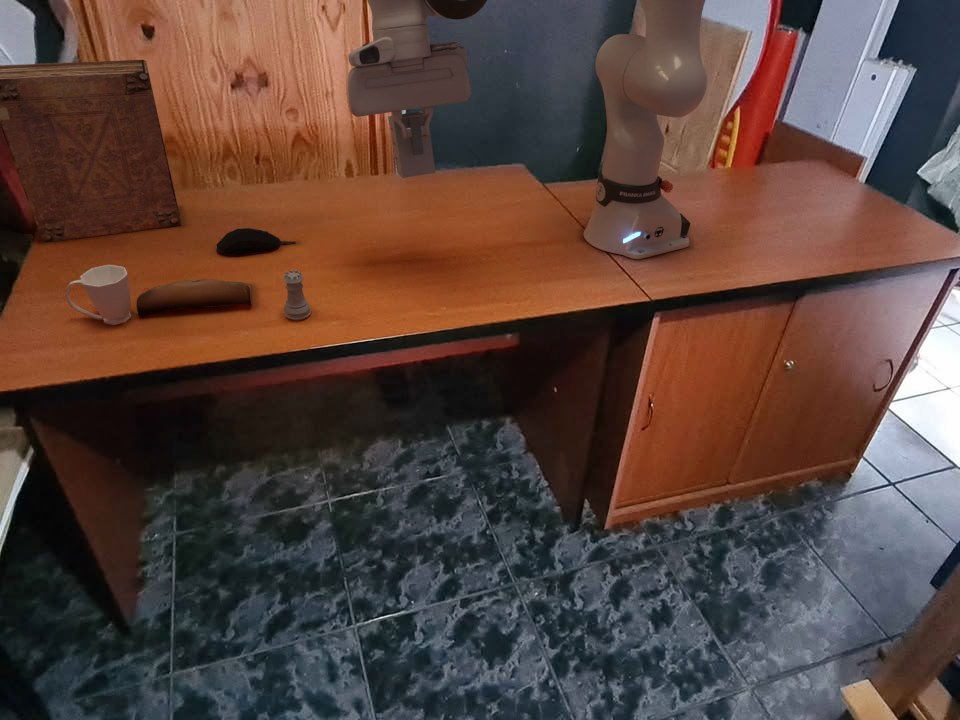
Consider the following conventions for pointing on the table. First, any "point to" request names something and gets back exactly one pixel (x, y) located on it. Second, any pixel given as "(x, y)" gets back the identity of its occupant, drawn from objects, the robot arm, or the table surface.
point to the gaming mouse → (248, 242)
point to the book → (88, 147)
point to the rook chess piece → (295, 297)
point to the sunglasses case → (194, 295)
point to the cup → (105, 293)
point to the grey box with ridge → (412, 147)
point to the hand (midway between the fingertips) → (415, 137)
